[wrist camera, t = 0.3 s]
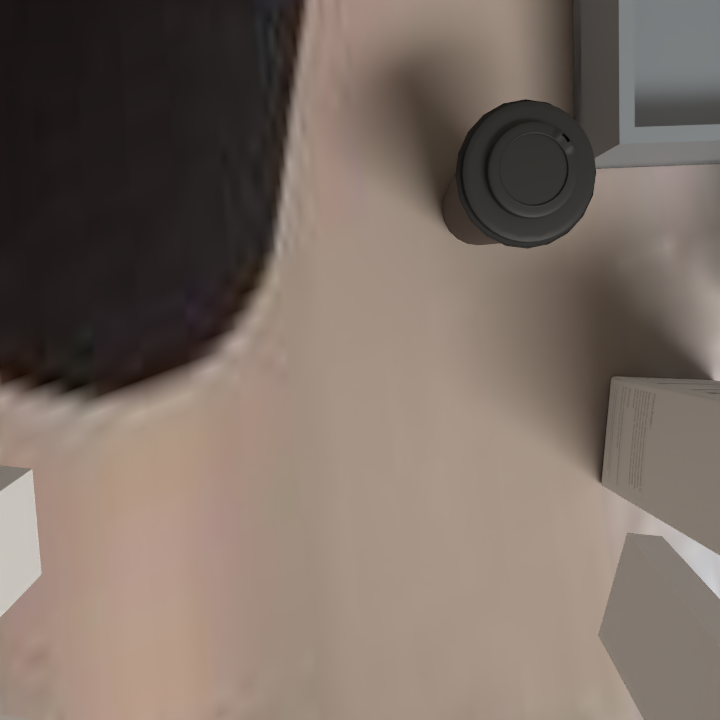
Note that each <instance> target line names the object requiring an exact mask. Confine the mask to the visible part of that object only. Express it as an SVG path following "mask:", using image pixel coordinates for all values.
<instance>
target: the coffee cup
mask: <svg viewBox="0 0 720 720" xmlns="http://www.w3.org/2000/svg"><path fill="white" fill-rule="evenodd" d="M595 176H596V167H595V158H594V153H593V149H592V146H591V144H590V141H589V139H588V137H587V135H586V134H585V132H584V130H583V129H582V128H581V126H580V125H579V124H578V123H577V121H576V120H574V119H573V118H572V117H571V116H570V115H569V114H568V113H566V112H564V111H563V110H561V109H560V108H557V107H555V106H553V105H551V104H549V103H545V102H539V101H532V100H520V101H515V102H510V103H504V104H502V105H500V106H498V107H497V108H495V109H493V110H491V111H490V112H488V113H486V114H484V115H483V116H482V117H481V118H480V119H479V121H478V122H477V123H476V124H475V125H474V126H473V127H472V128H471V129H470V131H469V132H468V133H467V136H466V138H465V140H464V142H463V144H462V147H461V149H460V151H459V153H458V160H457V169H456V174H455V176H454V177H453V179H452V181H451V183H450V185H449V187H448V190H447V192H446V194H445V196H444V199H443V208H442V211H443V216H444V221H445V223H446V225H447V227H448V229H449V231H450V232H451V233H452V234H453V235H454V236H455V237H456V238H457V239H459V240H461V241H463V242H465V243H467V244H474V245H485V244H497V243H501V244H503V245H506V246H512V247H521V248H532V247H537V246H541V245H546V244H550V243H551V242H553V241H555V240H557V239H558V238H560V237H562V236H563V235H565V234H567V233H568V232H569V231H570V230H571V229H572V228H573V227H574V226H575V225H576V223H577V222H578V221H579V220H580V219H581V218H582V217H583V215H584V213H585V211H586V209H587V207H588V205H589V202H590V200H591V198H592V196H593V190H594V183H595Z"/></svg>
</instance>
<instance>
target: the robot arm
mask: <svg viewBox="0 0 720 720" xmlns="http://www.w3.org/2000/svg"><path fill="white" fill-rule="evenodd" d="M40 575H41V563H40V552H39V541H38V530H37V518H36V507H35V496H34V484H33V473H32V469H28V468H19V467H9V466H0V617H1V616H2V615H3V614H4V613H5V612H6V611H7V610H8V608H9V607H10V606H11V605H12V604H13V603H14V602H15V601H16V600H17V599H18V598H19V597H20V596H21V595H22V594H23V593H24V592H25V591H26V590H27V589H28V588H29V587H30V586H31V585H32V584H33V583H34V582H35V581H36V579H37V578H38V577H39V576H40ZM598 635H599V637H600V639H601V641H602V643H603V645H604V646H605V648H606V650H607V652H608V654H609V656H610V658H611V659H612V661H613V663H614V665H615V667H616V669H617V671H618V672H619V674H620V676H621V678H622V680H623V682H624V684H625V685H626V687H627V689H628V691H629V693H630V695H631V697H632V698H633V700H634V702H635V704H636V706H637V708H638V709H639V711H640V713H641V715H642V717H643V719H644V720H720V599H719V598H718V597H717V596H716V595H715V594H714V592H713V591H712V590H711V589H710V588H709V587H708V586H707V585H706V584H705V583H704V582H703V580H702V579H701V578H700V577H699V576H698V575H697V574H696V573H695V572H694V571H693V570H692V568H691V567H690V566H689V565H688V564H687V563H686V562H685V561H684V560H683V559H682V558H681V556H680V555H679V554H678V553H677V552H676V551H675V550H674V549H673V548H672V547H671V546H670V544H669V543H668V542H667V541H666V540H665V539H664V538H663V537H662V536H652V535H643V534H634V533H627V535H626V539H625V542H624V546H623V549H622V553H621V556H620V560H619V564H618V567H617V571H616V574H615V578H614V581H613V585H612V588H611V592H610V595H609V599H608V602H607V606H606V610H605V613H604V617H603V620H602V624H601V627H600V631H599V634H598Z"/></svg>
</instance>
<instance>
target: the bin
mask: <svg viewBox="0 0 720 720" xmlns="http://www.w3.org/2000/svg"><path fill="white" fill-rule="evenodd" d="M573 40H574V109H575V120H576V121H577V123H578V124H579V125H580V126H581V128H582V129H583V130H584V132H585V134H586V135H587V137H588V139H589V141H590V144H591V146H592V149H593V153H594V158H595V167H596V169H600V168H625V167H650V166H675V165H699V164H720V0H573Z"/></svg>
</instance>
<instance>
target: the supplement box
mask: <svg viewBox="0 0 720 720" xmlns="http://www.w3.org/2000/svg"><path fill="white" fill-rule="evenodd" d="M602 486H604V487H606V488H607V489H609V490H611V491H612V492H614V493H616V494H617V495H619V496H621V497H622V498H624V499H626V500H627V501H629V502H631V503H632V504H634V505H636V506H638V507H639V508H641V509H642V510H644V511H646V512H648V513H649V514H651V515H653V516H654V517H656V518H658V519H659V520H661V521H663V522H664V523H666V524H668V525H669V526H671V527H673V528H675V529H676V530H678V531H680V532H681V533H683V534H685V535H686V536H688V537H690V538H691V539H693V540H695V541H696V542H698V543H700V544H702V545H703V546H705V547H707V548H708V549H710V550H712V551H713V552H715V553H717V554H718V555H720V381H715V380H700V379H672V378H644V377H612V379H611V386H610V397H609V408H608V418H607V429H606V439H605V450H604V461H603V472H602Z"/></svg>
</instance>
